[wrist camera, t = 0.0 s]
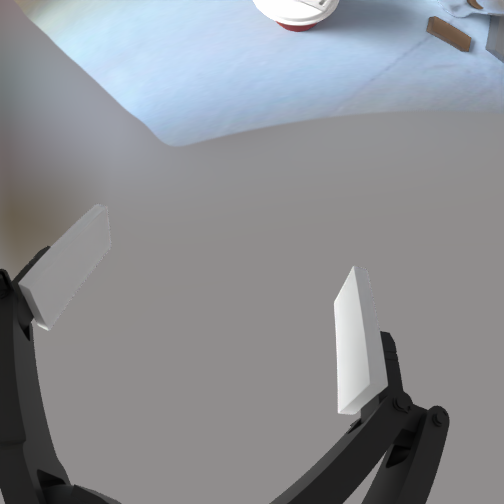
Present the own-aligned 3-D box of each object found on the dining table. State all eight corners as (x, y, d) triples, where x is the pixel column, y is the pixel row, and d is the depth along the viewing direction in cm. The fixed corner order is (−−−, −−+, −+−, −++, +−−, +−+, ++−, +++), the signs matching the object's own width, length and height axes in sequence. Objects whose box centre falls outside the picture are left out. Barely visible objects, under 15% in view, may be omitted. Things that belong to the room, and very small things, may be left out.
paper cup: (338, 7, 25) (358, -22, 14) (307, 49, 30) (312, 39, 18) (283, -21, 24) (275, -62, 13) (253, 21, 28) (229, -2, 17)
